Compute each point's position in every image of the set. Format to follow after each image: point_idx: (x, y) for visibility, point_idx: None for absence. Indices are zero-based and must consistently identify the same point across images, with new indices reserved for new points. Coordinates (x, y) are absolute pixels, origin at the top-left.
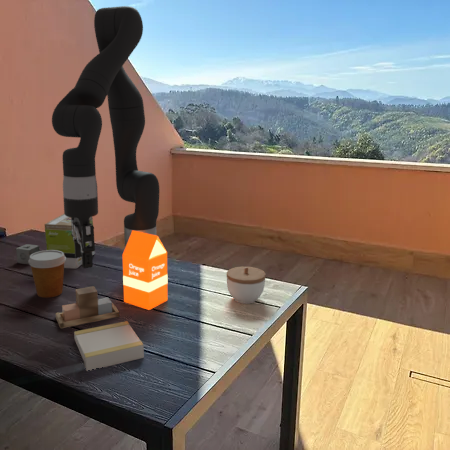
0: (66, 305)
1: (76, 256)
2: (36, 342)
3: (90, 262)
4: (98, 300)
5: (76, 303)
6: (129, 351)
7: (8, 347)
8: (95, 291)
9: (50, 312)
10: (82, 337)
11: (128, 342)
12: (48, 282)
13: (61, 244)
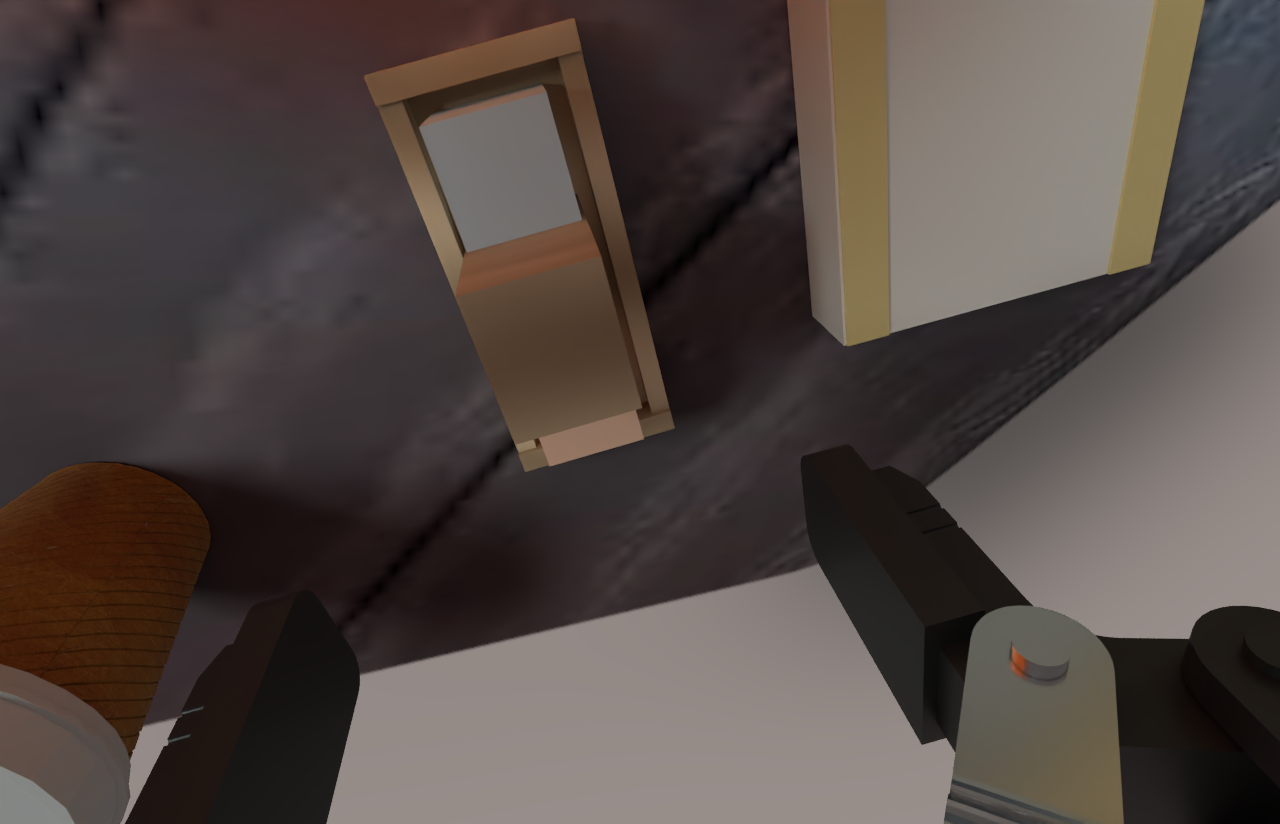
0: (551, 439)
1: (358, 672)
2: (733, 485)
3: (932, 507)
4: (486, 216)
5: None
6: None
7: (742, 573)
8: (598, 273)
9: (387, 484)
10: (931, 294)
11: None
12: (161, 617)
13: None
